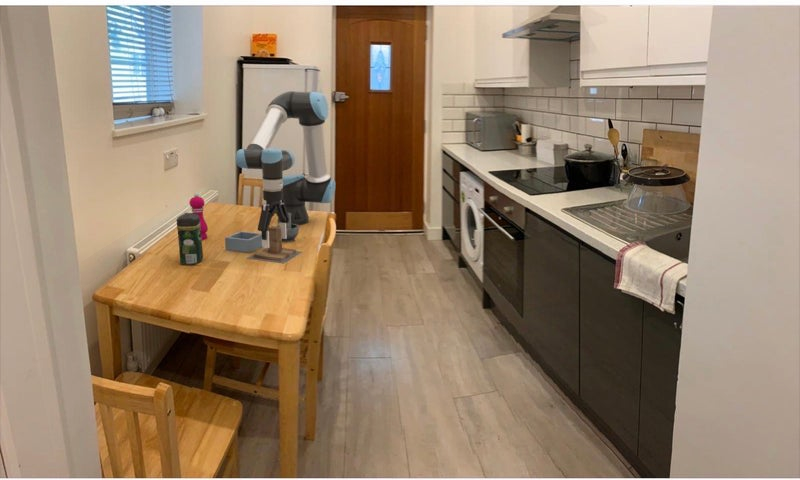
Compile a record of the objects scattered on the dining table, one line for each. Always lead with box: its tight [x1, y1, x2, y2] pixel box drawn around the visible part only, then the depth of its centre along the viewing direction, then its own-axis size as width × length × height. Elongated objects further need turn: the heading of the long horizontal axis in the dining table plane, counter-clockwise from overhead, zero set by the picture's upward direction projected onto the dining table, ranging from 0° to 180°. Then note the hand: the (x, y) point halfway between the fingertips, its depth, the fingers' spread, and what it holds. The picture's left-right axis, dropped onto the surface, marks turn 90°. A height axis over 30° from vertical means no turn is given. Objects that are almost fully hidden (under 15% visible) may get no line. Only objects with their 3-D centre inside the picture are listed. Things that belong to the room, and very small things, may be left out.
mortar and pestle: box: [276, 213, 300, 243], centre depth 235 cm, size 11×9×12 cm
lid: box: [253, 225, 297, 261], centre depth 213 cm, size 12×12×11 cm
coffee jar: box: [176, 212, 204, 266], centre depth 204 cm, size 10×8×19 cm
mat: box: [246, 250, 303, 264], centre depth 215 cm, size 16×16×1 cm
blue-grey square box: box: [224, 230, 263, 254], centre depth 222 cm, size 11×11×6 cm
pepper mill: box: [189, 192, 209, 241], centre depth 234 cm, size 7×7×20 cm
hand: (274, 242), depth 213 cm, fingers open, 13 cm apart
